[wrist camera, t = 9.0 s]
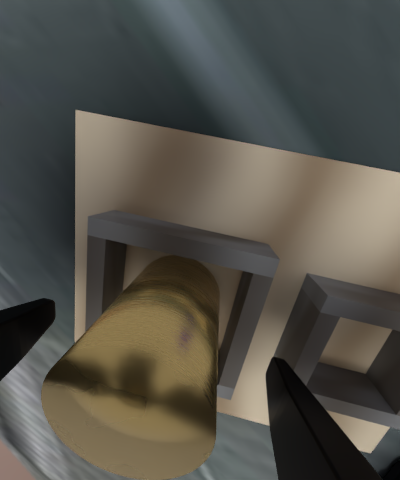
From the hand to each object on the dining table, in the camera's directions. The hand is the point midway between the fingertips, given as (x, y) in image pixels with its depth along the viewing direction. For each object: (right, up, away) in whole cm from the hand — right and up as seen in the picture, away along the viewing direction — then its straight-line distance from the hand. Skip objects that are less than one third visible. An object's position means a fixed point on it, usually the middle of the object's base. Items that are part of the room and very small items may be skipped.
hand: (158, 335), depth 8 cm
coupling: (0, +1, +3) cm, 3 cm away
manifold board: (+4, 0, +4) cm, 6 cm away
